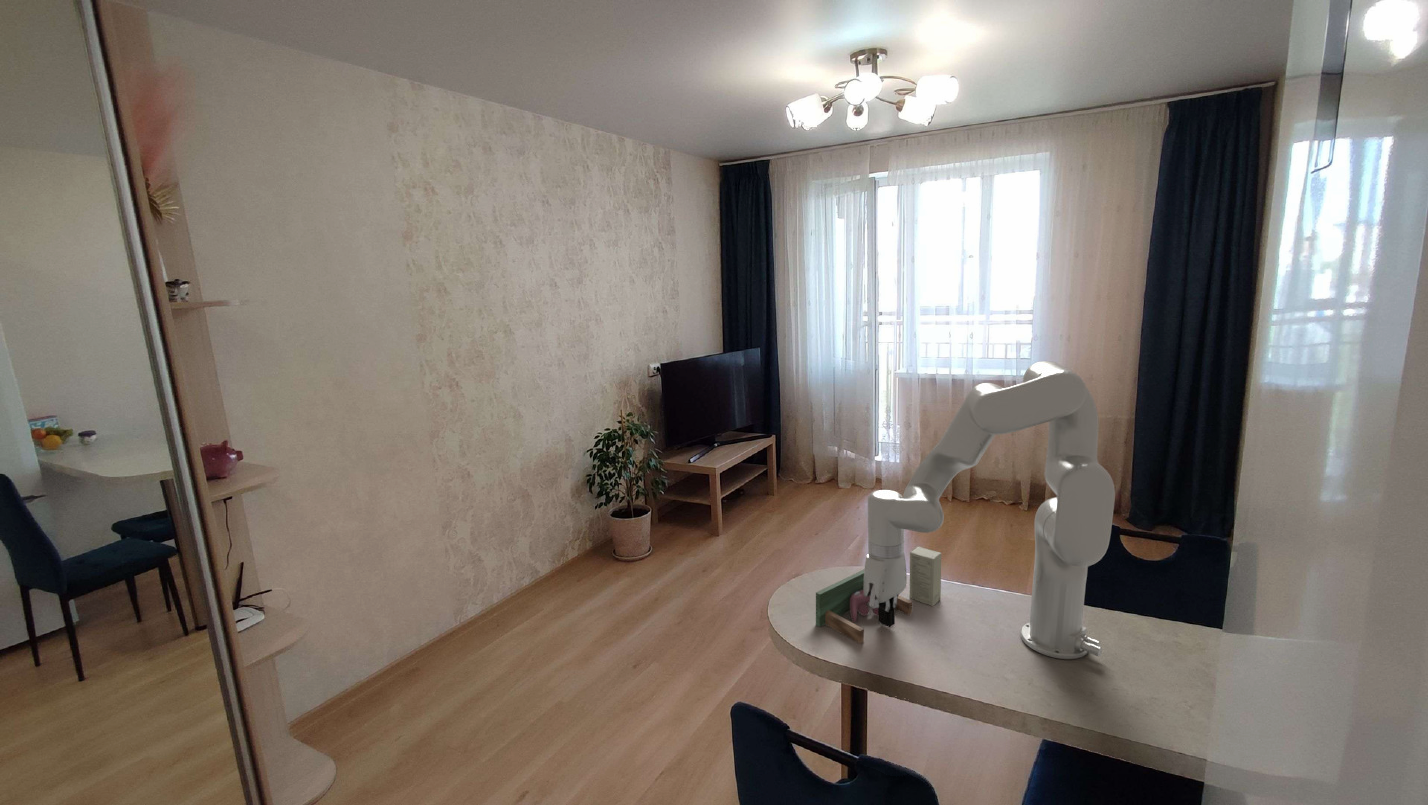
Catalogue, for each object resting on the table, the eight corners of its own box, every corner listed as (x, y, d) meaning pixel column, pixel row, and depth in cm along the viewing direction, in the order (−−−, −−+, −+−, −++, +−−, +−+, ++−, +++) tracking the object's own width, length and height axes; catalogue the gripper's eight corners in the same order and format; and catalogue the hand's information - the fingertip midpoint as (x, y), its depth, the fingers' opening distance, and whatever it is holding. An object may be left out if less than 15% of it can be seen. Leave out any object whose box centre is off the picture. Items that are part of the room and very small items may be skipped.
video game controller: (891, 621, 145) (890, 589, 147) (896, 622, 141) (893, 590, 143) (848, 620, 146) (847, 589, 148) (851, 622, 142) (850, 590, 143)
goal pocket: (916, 610, 146) (917, 579, 145) (854, 646, 133) (855, 612, 132) (877, 592, 155) (878, 562, 153) (815, 624, 142) (815, 592, 140)
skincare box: (941, 599, 151) (943, 552, 148) (932, 607, 148) (934, 559, 145) (916, 590, 155) (918, 545, 153) (907, 597, 152) (909, 551, 149)
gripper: (892, 532, 143) (892, 605, 147) (850, 553, 134) (851, 630, 138) (920, 541, 138) (920, 617, 141) (879, 564, 129) (880, 644, 132)
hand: (886, 623), depth 140 cm, fingers closed
